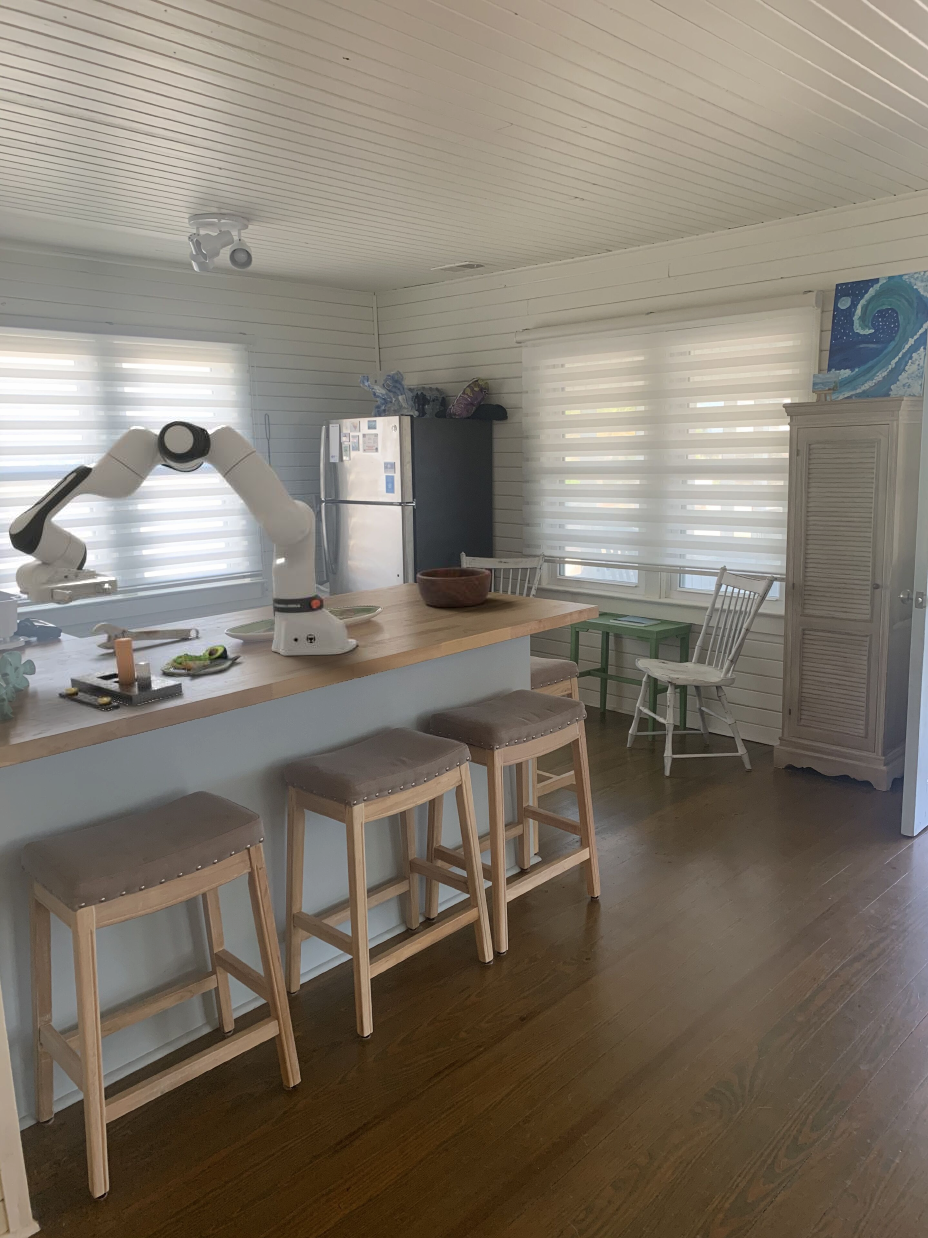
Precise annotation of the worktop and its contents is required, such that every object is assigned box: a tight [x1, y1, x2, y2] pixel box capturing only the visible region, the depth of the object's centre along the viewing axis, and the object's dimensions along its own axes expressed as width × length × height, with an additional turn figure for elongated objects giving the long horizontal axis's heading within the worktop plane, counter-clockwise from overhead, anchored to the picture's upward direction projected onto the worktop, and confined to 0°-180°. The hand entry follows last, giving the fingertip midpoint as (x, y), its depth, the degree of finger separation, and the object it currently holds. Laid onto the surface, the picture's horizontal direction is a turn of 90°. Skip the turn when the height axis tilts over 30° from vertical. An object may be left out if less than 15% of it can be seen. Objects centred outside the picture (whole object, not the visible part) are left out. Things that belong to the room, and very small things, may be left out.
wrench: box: [91, 622, 200, 652], centre depth 250 cm, size 8×2×30 cm
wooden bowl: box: [416, 567, 492, 608], centre depth 301 cm, size 25×25×10 cm
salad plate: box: [160, 644, 242, 676], centre depth 221 cm, size 19×18×5 cm
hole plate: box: [58, 661, 183, 711], centre depth 200 cm, size 26×17×8 cm, turn 51°
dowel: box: [114, 638, 136, 685], centre depth 201 cm, size 4×4×12 cm
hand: (90, 593), depth 207 cm, fingers open, 8 cm apart
